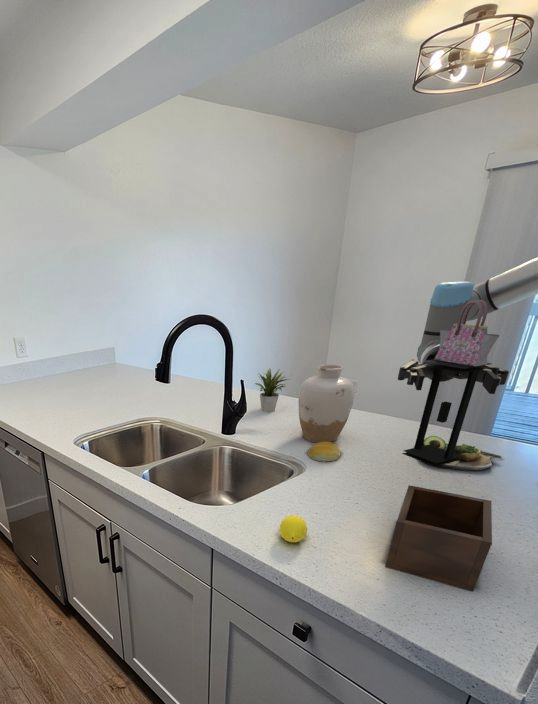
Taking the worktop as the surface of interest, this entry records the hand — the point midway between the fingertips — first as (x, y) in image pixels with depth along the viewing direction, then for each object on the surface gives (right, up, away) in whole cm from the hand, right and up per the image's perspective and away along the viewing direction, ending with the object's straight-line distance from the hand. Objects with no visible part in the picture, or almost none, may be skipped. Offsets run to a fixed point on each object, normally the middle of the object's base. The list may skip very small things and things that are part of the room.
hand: (456, 384), depth 80 cm
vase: (+1, -2, +61) cm, 61 cm away
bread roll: (-3, -9, +48) cm, 49 cm away
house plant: (-7, +12, +90) cm, 91 cm away
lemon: (-26, -30, +11) cm, 41 cm away
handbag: (+3, -13, +11) cm, 17 cm away
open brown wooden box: (-2, -32, +3) cm, 32 cm away
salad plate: (+29, -11, +42) cm, 52 cm away
